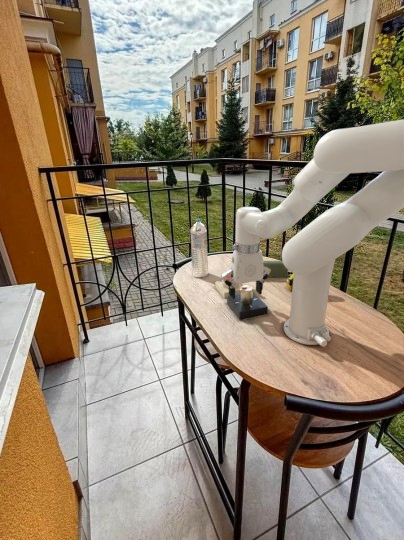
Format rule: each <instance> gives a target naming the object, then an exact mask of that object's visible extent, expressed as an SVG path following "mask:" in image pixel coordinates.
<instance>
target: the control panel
mask: <svg viewBox="0 0 404 540" xmlns="http://www.w3.org/2000/svg"><path fill="white" fill-rule="evenodd" d="M226 305H227V306H228V307H229V308H230V310H231V311H232V313H233V314H234V315H235V317H236V318H237V319H238V321H243V320H247V319H252V318H257V317H258V318H259V317H261V316H267V315H268V309H269V307H268V305H267V304H266V303H265V302H264V301H263V300H262V299H261V298H260V297H259V296H258V295H257V294H256V293H255V292H254V291H253V302H252V303H251V304H243V303H242V302H241V294H237V295H235V299H232V297H231V296H227V298H226Z"/></svg>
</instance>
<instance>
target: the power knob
mask: <svg viewBox="0 0 404 540" xmlns="http://www.w3.org/2000/svg"><path fill="white" fill-rule="evenodd" d="M253 292H254V286H251V285H247V284H246V285H245V284H243V286H242V287H241V302H242V303H243V304H251V303H252V302H253Z"/></svg>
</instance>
